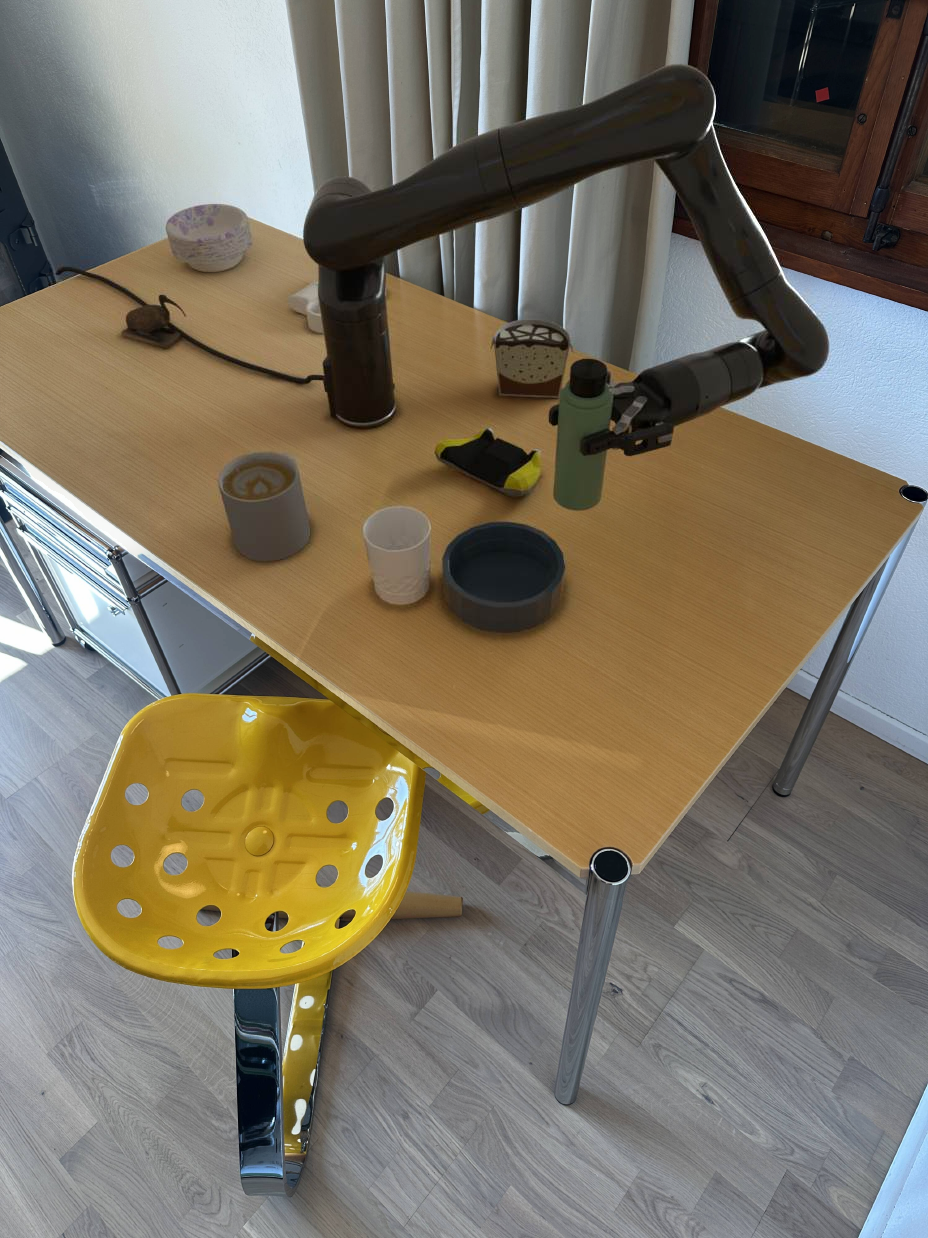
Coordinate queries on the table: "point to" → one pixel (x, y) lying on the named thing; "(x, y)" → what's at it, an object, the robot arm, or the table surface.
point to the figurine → (152, 324)
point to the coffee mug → (265, 505)
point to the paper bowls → (209, 236)
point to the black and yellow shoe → (492, 462)
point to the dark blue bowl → (503, 576)
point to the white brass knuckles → (308, 306)
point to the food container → (531, 358)
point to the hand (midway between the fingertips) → (566, 432)
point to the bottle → (581, 435)
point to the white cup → (399, 553)
